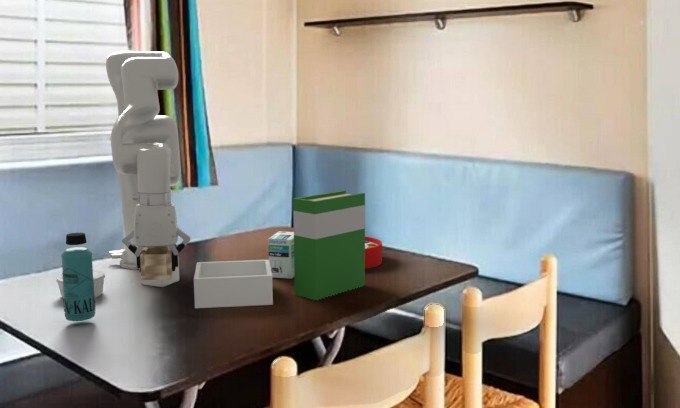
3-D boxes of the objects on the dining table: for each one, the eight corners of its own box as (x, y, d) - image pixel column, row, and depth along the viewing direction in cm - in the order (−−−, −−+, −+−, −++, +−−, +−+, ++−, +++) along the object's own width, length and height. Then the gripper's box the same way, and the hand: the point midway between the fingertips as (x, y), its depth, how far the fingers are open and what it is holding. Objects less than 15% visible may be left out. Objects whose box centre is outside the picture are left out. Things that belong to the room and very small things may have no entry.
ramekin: (60, 305, 173) (59, 283, 172) (55, 293, 182) (53, 272, 181) (109, 298, 178) (108, 277, 177) (101, 287, 187) (100, 267, 187)
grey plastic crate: (194, 308, 169) (193, 279, 168) (198, 289, 185) (197, 262, 184) (272, 304, 172) (272, 275, 171) (269, 286, 187) (268, 259, 186)
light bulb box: (292, 279, 194) (291, 239, 192) (267, 278, 195) (267, 238, 194) (302, 269, 204) (301, 231, 203) (279, 268, 206) (278, 230, 204)
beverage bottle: (69, 319, 162) (63, 230, 159) (100, 318, 163) (94, 229, 159) (60, 328, 156) (54, 236, 152) (92, 327, 156) (87, 236, 153)
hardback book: (343, 280, 193) (343, 190, 189) (364, 285, 188) (364, 193, 184) (294, 294, 180) (293, 198, 176) (315, 300, 175) (314, 201, 171)
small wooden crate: (141, 280, 174) (140, 255, 173) (145, 269, 183) (144, 246, 181) (171, 279, 175) (170, 254, 174) (174, 268, 184) (173, 245, 182)
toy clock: (390, 247, 205) (321, 252, 201) (390, 268, 206) (321, 272, 202) (371, 233, 224) (307, 237, 220) (371, 252, 225) (307, 256, 221)
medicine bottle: (180, 280, 193) (178, 236, 191) (162, 287, 187) (160, 241, 185) (158, 277, 196) (156, 234, 194) (140, 284, 190) (138, 239, 188)
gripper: (115, 202, 170) (118, 276, 174) (191, 201, 173) (193, 273, 176) (119, 196, 177) (123, 267, 181) (192, 195, 180) (194, 265, 183)
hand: (157, 269), depth 178 cm, fingers closed on small wooden crate, 7 cm apart
